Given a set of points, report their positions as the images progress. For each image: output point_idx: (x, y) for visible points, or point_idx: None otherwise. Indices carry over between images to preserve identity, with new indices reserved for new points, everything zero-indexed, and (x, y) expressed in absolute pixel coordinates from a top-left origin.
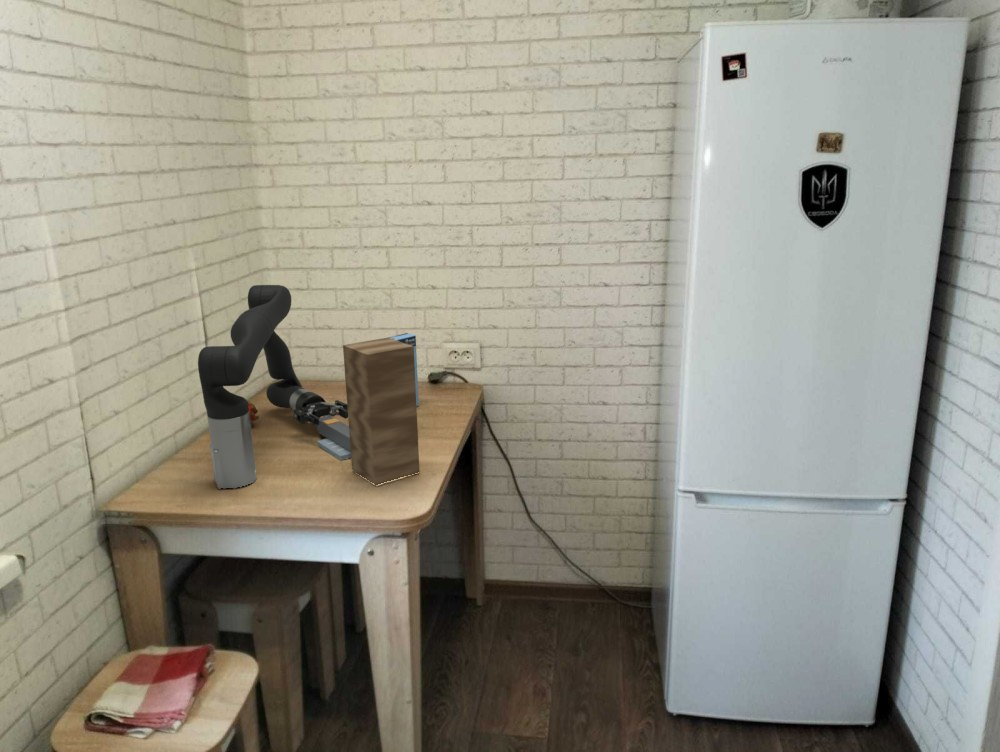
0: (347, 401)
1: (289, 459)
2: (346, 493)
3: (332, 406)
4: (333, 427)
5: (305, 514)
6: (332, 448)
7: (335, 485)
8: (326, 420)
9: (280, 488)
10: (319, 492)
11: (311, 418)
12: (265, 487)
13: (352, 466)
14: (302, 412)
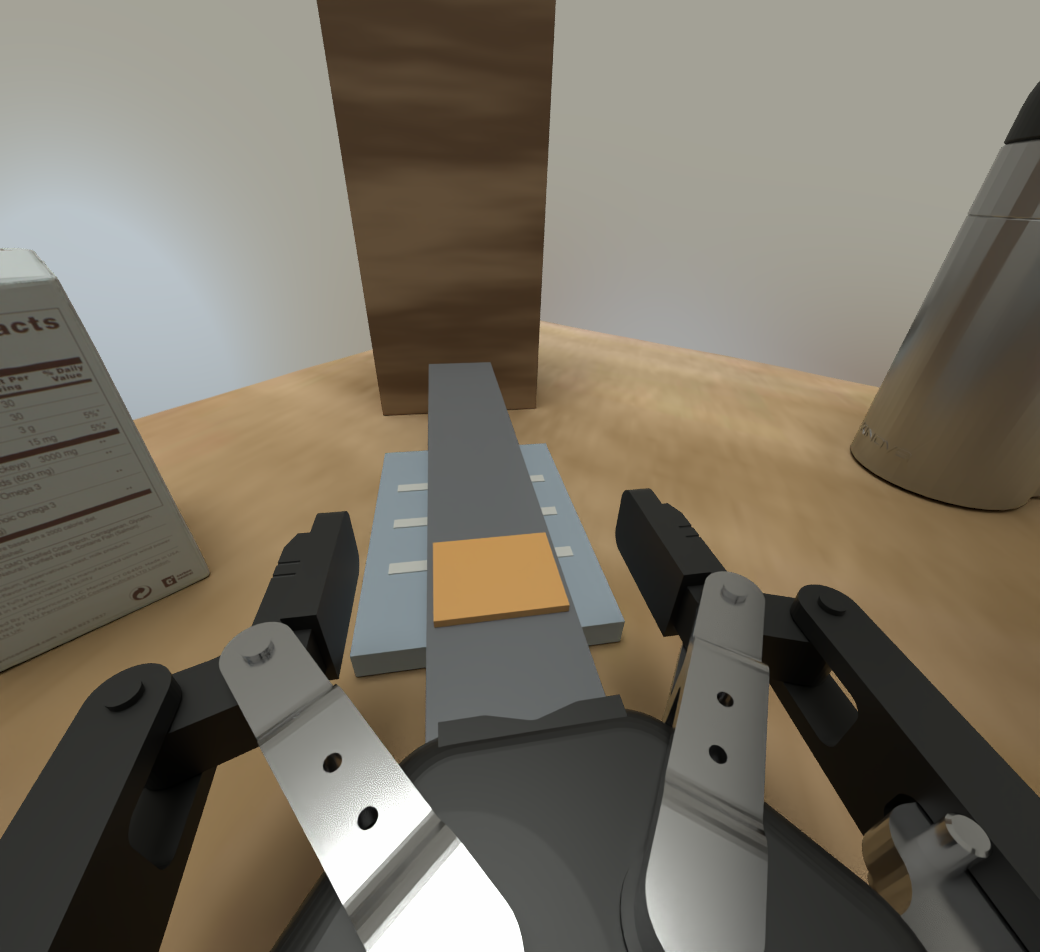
0: (548, 122)
1: (768, 541)
2: (581, 362)
3: (350, 705)
4: (522, 486)
5: (670, 348)
6: (556, 502)
7: (598, 382)
8: (531, 600)
9: (745, 408)
10: (639, 376)
11: (691, 528)
12: (794, 421)
13: (535, 390)
14: (904, 899)
